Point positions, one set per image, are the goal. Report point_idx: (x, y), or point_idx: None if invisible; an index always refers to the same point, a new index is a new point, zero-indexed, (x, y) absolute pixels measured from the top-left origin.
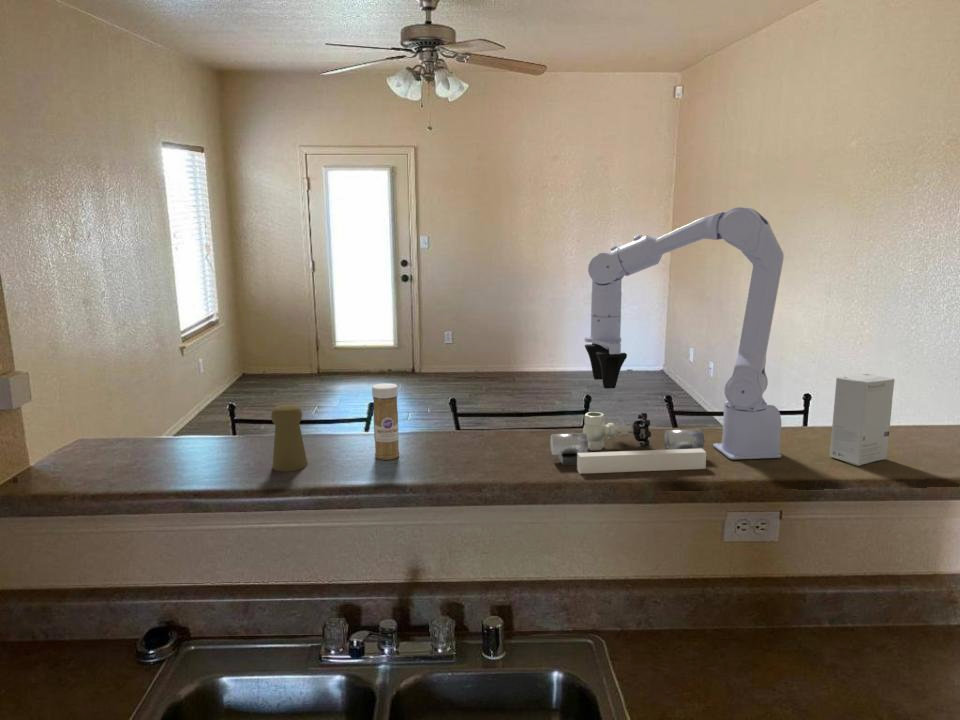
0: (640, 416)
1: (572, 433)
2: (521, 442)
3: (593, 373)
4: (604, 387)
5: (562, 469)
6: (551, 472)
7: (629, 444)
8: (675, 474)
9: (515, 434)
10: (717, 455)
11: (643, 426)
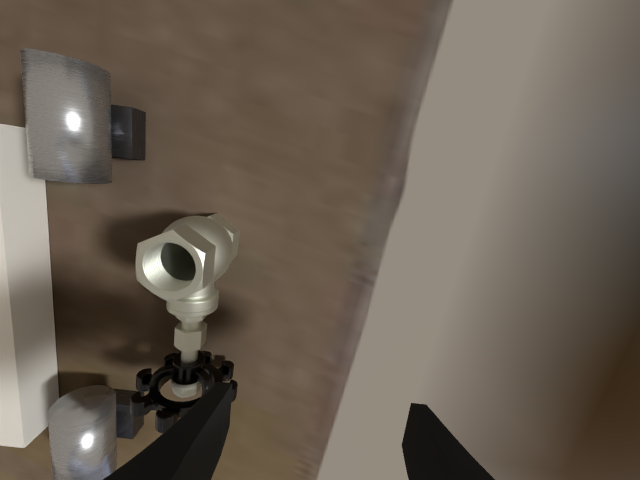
0: None
1: (53, 134)
2: (300, 40)
3: (424, 423)
4: (215, 383)
5: None
6: None
7: (222, 332)
8: None
9: (386, 44)
10: None
11: (150, 387)
